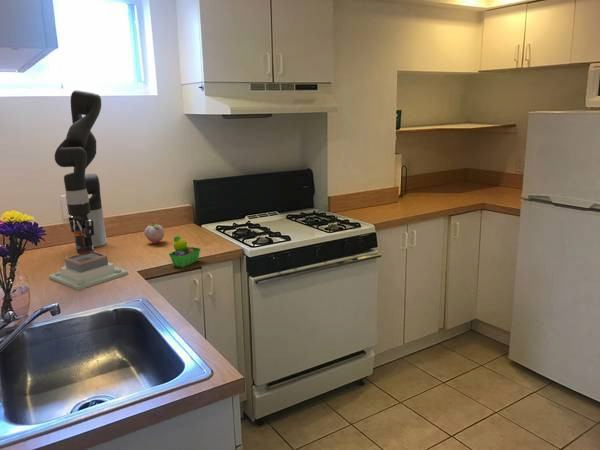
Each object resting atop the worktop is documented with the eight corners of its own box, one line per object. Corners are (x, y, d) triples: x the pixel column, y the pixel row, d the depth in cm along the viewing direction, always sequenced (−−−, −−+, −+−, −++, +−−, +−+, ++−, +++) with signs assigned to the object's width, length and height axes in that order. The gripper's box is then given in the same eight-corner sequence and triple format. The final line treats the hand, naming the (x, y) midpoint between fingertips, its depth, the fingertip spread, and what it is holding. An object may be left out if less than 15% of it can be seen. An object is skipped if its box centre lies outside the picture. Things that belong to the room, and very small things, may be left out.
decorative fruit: (169, 242, 230) (167, 221, 228) (156, 246, 224) (153, 225, 221) (156, 239, 235) (153, 219, 233) (142, 244, 229) (140, 223, 226)
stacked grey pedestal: (49, 278, 187) (45, 258, 185) (98, 263, 202) (95, 245, 200) (78, 290, 174) (74, 269, 172) (128, 273, 189) (125, 254, 187)
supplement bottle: (97, 250, 188) (93, 222, 185) (86, 255, 182) (81, 226, 180) (85, 249, 190) (80, 221, 187) (73, 254, 184) (68, 225, 181)
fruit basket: (182, 268, 193) (179, 241, 190) (166, 265, 198) (163, 238, 195) (202, 260, 202) (200, 234, 199) (187, 257, 207) (184, 231, 204)
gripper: (58, 201, 183) (65, 244, 187) (77, 205, 174) (84, 250, 178) (77, 197, 188) (84, 239, 192) (97, 201, 179) (103, 245, 184)
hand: (84, 244), depth 185 cm, fingers closed on supplement bottle, 6 cm apart
